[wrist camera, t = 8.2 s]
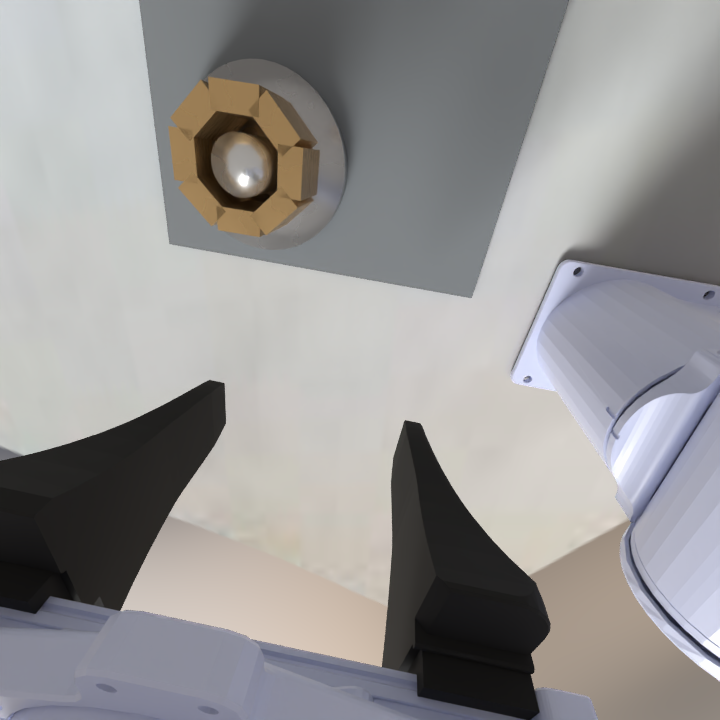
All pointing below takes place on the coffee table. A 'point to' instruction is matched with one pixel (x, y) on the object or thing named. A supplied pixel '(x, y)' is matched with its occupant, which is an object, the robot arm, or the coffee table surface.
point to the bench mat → (375, 119)
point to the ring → (228, 114)
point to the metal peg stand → (260, 157)
